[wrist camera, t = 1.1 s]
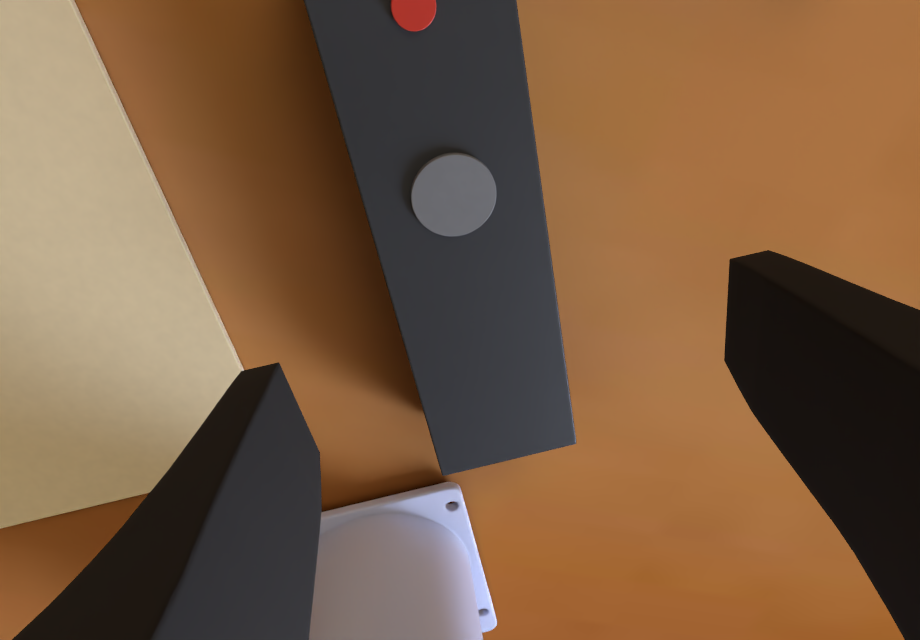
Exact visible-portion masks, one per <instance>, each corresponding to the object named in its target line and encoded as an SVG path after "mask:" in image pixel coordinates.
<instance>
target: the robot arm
mask: <svg viewBox="0 0 920 640" xmlns="http://www.w3.org/2000/svg"><path fill="white" fill-rule="evenodd" d="M724 361H725V362H726V364H727V366H728V368H729V370H730V372H731V374H732V376H733V378H734V380H735V382H736V384H737V386H738V388H739V389H740V391H741V393H742V395H743V397H744V398H745V400H746V402H747V404H748V405H749V407H750V409H751V411H752V412H753V414H754V415H755V417H756V418H757V420H758V421H759V422H760V424H761V425H762V427H763V428H764V429H765V431H766V432H767V433H768V435H769V436H770V438H771V439H772V440H773V442H774V443H775V444H776V446H777V447H778V449H779V450H780V451H781V453H782V454H783V455H784V457H785V458H786V459H787V461H788V462H789V463H790V465H791V466H792V467H793V469H794V470H795V471H796V473H797V474H798V476H799V477H800V478H801V480H802V481H803V482H804V484H805V485H806V486H807V488H808V489H809V490H810V492H811V493H812V494H813V496H814V497H815V498H816V500H817V501H818V502H819V504H820V505H821V507H822V508H823V509H824V511H825V512H826V513H827V515H828V516H829V517H830V519H831V520H832V521H833V523H834V524H835V525H836V527H837V528H838V530H839V531H840V533H841V534H842V536H843V537H844V539H845V540H846V542H847V543H848V545H849V546H850V547H851V549H852V550H853V552H854V553H855V555H856V557H857V558H858V560H859V562H860V563H861V565H862V567H863V568H864V570H865V572H866V573H867V575H868V577H869V579H870V580H871V582H872V584H873V585H874V587H875V589H876V590H877V592H878V594H879V595H880V597H881V599H882V600H883V602H884V604H885V605H886V607H887V609H888V611H889V612H890V614H891V616H892V617H893V619H894V621H895V623H896V625H897V626H898V628H899V630H900V632H901V634H902V635H903V637H904V639H905V640H920V310H918V309H915V308H913V307H910V306H908V305H905V304H902V303H900V302H897V301H895V300H892V299H890V298H887V297H885V296H882V295H880V294H877V293H875V292H872V291H870V290H868V289H865V288H863V287H860V286H858V285H855V284H853V283H851V282H848V281H846V280H843V279H841V278H839V277H836V276H834V275H831V274H829V273H827V272H824V271H822V270H819V269H817V268H814V267H812V266H809V265H807V264H805V263H802V262H800V261H797V260H794V259H792V258H789V257H787V256H784V255H781V254H778V253H775V252H772V251H769V250H767V251H763V252H759V253H754V254H750V255H746V256H741V257H737V258H733V259H730V265H729V283H728V302H727V321H726V339H725V358H724ZM453 501H454V503H451V504H448V503H449V502H453ZM321 511H322V504H321V471H320V452H319V450H318V448H317V446H316V443H315V441H314V439H313V437H312V435H311V432H310V430H309V428H308V426H307V423H306V421H305V419H304V417H303V415H302V412H301V410H300V408H299V406H298V404H297V401H296V399H295V397H294V395H293V393H292V390H291V388H290V386H289V384H288V382H287V379H286V377H285V375H284V373H283V371H282V368H281V366H280V364H279V363H275V364H270V365H266V366H262V367H257V368H253V369H249V370H244V371H241V372H240V373H239V375H238V376H237V377H236V378H235V380H234V381H233V382H232V384H231V385H230V386H229V388H228V389H227V390H226V392H225V393H224V395H223V396H222V397H221V399H220V400H219V401H218V403H217V404H216V406H215V407H214V408H213V410H212V411H211V413H210V414H209V415H208V417H207V418H206V420H205V421H204V422H203V424H202V425H201V427H200V428H199V429H198V431H197V432H196V433H195V435H194V436H193V437H192V439H191V440H190V441H189V443H188V444H187V445H186V447H185V448H184V449H183V451H182V452H181V454H180V455H179V456H178V458H177V459H176V460H175V462H174V463H173V464H172V466H171V467H170V468H169V470H168V471H167V472H166V473H165V475H164V476H163V477H162V478H161V480H160V481H159V482H158V483H157V485H156V486H155V487H154V488H153V489H152V491H151V492H150V493H149V494H148V496H147V497H146V498H145V499H144V501H143V502H142V503H141V504H140V505H139V507H138V508H137V509H136V510H135V512H134V513H133V514H132V515H131V517H130V518H129V519H128V520H127V521H126V523H125V524H124V525H123V526H122V528H121V529H120V530H119V531H118V532H117V533H116V534H115V536H114V537H113V538H112V539H111V540H110V541H109V542H108V544H107V545H106V546H105V547H104V548H103V549H102V550H101V551H100V552H99V553H98V555H97V556H96V557H95V558H94V559H93V560H92V561H91V562H90V563H89V564H88V565H87V566H86V567H85V568H84V569H83V571H82V572H81V573H80V574H79V575H78V576H77V577H76V578H75V579H74V580H73V581H72V582H71V583H70V584H69V585H68V586H67V587H66V588H65V589H64V590H63V591H62V593H61V594H60V595H59V596H58V597H57V598H56V599H55V600H54V601H53V602H52V603H51V604H50V605H49V606H48V607H46V608H45V609H44V610H43V611H42V612H41V613H40V614H39V615H38V616H37V617H36V618H35V619H34V620H33V621H32V622H30V623H29V624H28V625H27V626H26V627H25V628H24V629H23V630H22V631H21V632H20V633H19V634H18V635H17V636H16V637H14V638H13V639H12V640H483V636H482V633H483V632H487V631H490V630H492V629H494V628H495V627H496V625H497V619H496V615H495V611H494V608H493V604H492V600H491V597H490V593H489V589H488V586H487V582H486V578H485V575H484V571H483V568H482V564H481V560H480V557H479V553H478V549H477V546H476V542H475V539H474V535H473V531H472V528H471V524H470V520H469V517H468V513H467V509H466V506H465V502H464V499H463V495H462V491H461V488H460V486H459V485H458V484H457V483H454V482H444V483H440V484H436V485H432V486H428V487H424V488H420V489H415V490H411V491H407V492H403V493H399V494H395V495H391V496H386V497H382V498H378V499H374V500H370V501H366V502H362V503H358V504H353V505H349V506H345V507H341V508H337V509H333V510H329V511H324V512H321Z"/></svg>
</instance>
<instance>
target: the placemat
mask: <svg viewBox="0 0 920 640" xmlns="http://www.w3.org/2000/svg"><path fill="white" fill-rule="evenodd" d="M241 371H244V369H243V366H242V364H241V362H240V360H239V358H238V356H237V353H236V351H235V349H234V347H233V345H232V342H231V340H230V338H229V336H228V334H227V332H226V329H225V327H224V325H223V323H222V321H221V319H220V316H219V314H218V312H217V310H216V308H215V305H214V303H213V301H212V299H211V297H210V295H209V292H208V290H207V288H206V286H205V284H204V282H203V279H202V277H201V275H200V273H199V271H198V269H197V266H196V264H195V262H194V260H193V258H192V255H191V253H190V251H189V249H188V247H187V245H186V242H185V240H184V238H183V236H182V234H181V232H180V229H179V227H178V225H177V223H176V221H175V218H174V216H173V214H172V212H171V210H170V208H169V205H168V203H167V201H166V199H165V197H164V195H163V192H162V190H161V188H160V186H159V184H158V182H157V179H156V177H155V175H154V173H153V171H152V168H151V166H150V164H149V162H148V160H147V158H146V155H145V153H144V151H143V149H142V147H141V145H140V142H139V140H138V138H137V136H136V134H135V131H134V129H133V127H132V125H131V123H130V121H129V118H128V116H127V114H126V112H125V110H124V108H123V105H122V103H121V101H120V99H119V97H118V94H117V92H116V90H115V88H114V86H113V84H112V81H111V79H110V77H109V75H108V73H107V71H106V68H105V66H104V64H103V62H102V60H101V58H100V55H99V53H98V51H97V49H96V47H95V44H94V42H93V40H92V38H91V36H90V34H89V31H88V29H87V27H86V25H85V23H84V21H83V18H82V16H81V14H80V12H79V10H78V7H77V5H76V3H75V1H74V0H0V529H1V528H5V527H9V526H13V525H17V524H21V523H25V522H30V521H34V520H38V519H42V518H46V517H50V516H55V515H59V514H63V513H67V512H71V511H75V510H80V509H84V508H88V507H92V506H96V505H100V504H104V503H109V502H113V501H117V500H121V499H125V498H129V497H134V496H138V495H142V494H146V493H150V492H151V491H152V489H153V488H154V487H155V486H156V485H157V483H158V482H159V481H160V480H161V478H162V477H163V476H164V475H165V473H166V472H167V471H168V470H169V468H170V467H171V466H172V464H173V463H174V462H175V460H176V459H177V458H178V456H179V455H180V454H181V452H182V451H183V449H184V448H185V447H186V445H187V444H188V443H189V441H190V440H191V439H192V437H193V436H194V435H195V433H196V432H197V431H198V429H199V428H200V427H201V425H202V424H203V422H204V421H205V420H206V418H207V417H208V415H209V414H210V413H211V411H212V410H213V408H214V407H215V406H216V404H217V403H218V401H219V400H220V399H221V397H222V396H223V395H224V393H225V392H226V390H227V389H228V388H229V386H230V385H231V384H232V382H233V381H234V380H235V378H236V377H237V376H238V375H239V373H240V372H241Z"/></svg>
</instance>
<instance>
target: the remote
mask: <svg viewBox="0 0 920 640" xmlns="http://www.w3.org/2000/svg"><path fill="white" fill-rule="evenodd" d="M304 3H305V6H306V10H307V13H308V17H309V20H310V23H311V27H312V30H313V34H314V37H315V41H316V44H317V47H318V51H319V54H320V58H321V61H322V65H323V68H324V71H325V75H326V78H327V82H328V85H329V89H330V92H331V95H332V99H333V102H334V106H335V109H336V113H337V116H338V119H339V123H340V126H341V130H342V133H343V137H344V140H345V143H346V147H347V150H348V154H349V157H350V161H351V164H352V167H353V171H354V174H355V178H356V181H357V185H358V188H359V191H360V195H361V198H362V202H363V205H364V209H365V212H366V215H367V219H368V222H369V226H370V229H371V233H372V236H373V239H374V243H375V246H376V250H377V253H378V257H379V260H380V263H381V267H382V270H383V274H384V277H385V281H386V284H387V287H388V291H389V294H390V298H391V301H392V305H393V308H394V311H395V315H396V318H397V322H398V325H399V329H400V332H401V335H402V339H403V342H404V346H405V349H406V353H407V356H408V359H409V363H410V366H411V370H412V373H413V377H414V380H415V383H416V387H417V390H418V394H419V397H420V401H421V404H422V407H423V411H424V414H425V418H426V421H427V425H428V428H429V431H430V435H431V438H432V442H433V445H434V449H435V452H436V455H437V459H438V462H439V466H440V469H441V473H442V475H443V476H445V475H449V474H453V473H457V472H461V471H465V470H469V469H474V468H478V467H482V466H486V465H490V464H494V463H498V462H503V461H507V460H511V459H515V458H519V457H523V456H527V455H532V454H536V453H540V452H544V451H548V450H552V449H556V448H561V447H565V446H569V445H573V444H576V436H575V428H574V421H573V414H572V406H571V399H570V392H569V384H568V377H567V370H566V362H565V355H564V347H563V340H562V333H561V325H560V318H559V311H558V303H557V296H556V289H555V281H554V274H553V267H552V259H551V252H550V245H549V237H548V230H547V223H546V215H545V208H544V201H543V193H542V186H541V179H540V171H539V164H538V157H537V149H536V142H535V135H534V127H533V120H532V112H531V105H530V98H529V90H528V83H527V76H526V68H525V61H524V54H523V46H522V39H521V32H520V24H519V17H518V10H517V2H516V0H304Z"/></svg>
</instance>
